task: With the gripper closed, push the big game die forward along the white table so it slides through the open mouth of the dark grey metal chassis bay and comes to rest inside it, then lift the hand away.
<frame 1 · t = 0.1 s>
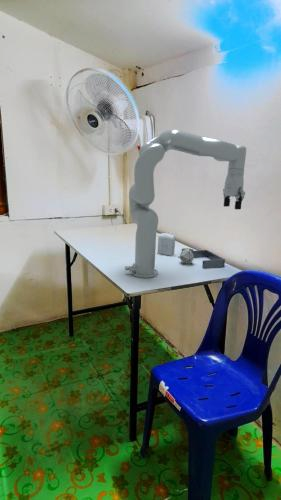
hand: (231, 207, 162), 31 cm above the table, tool pointing down, fingers open, 9 cm apart
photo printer: (165, 254, 190), on the table
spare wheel: (187, 253, 192), on the table
game die: (186, 264, 174), on the table
chassis bay: (204, 262, 177), on the table
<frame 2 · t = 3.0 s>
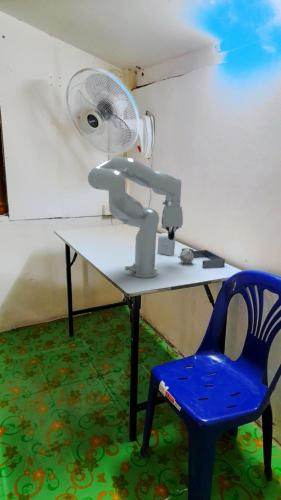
hand: (171, 239, 167), 14 cm above the table, tool pointing down, fingers closed
nothing on the table moved.
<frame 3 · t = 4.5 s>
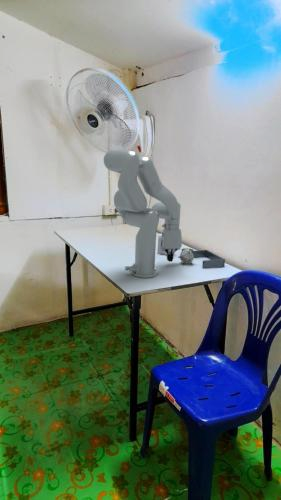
hand: (169, 260, 170), 2 cm above the table, tool pointing down, fingers closed
nothing on the table moved.
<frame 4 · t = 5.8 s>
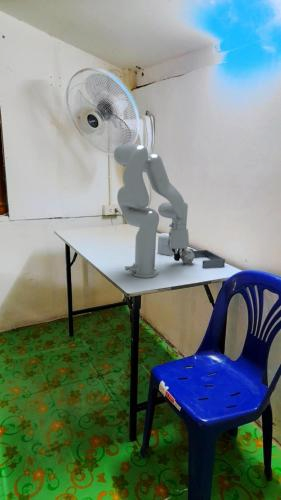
hand: (176, 260, 172), 2 cm above the table, tool pointing down, fingers closed
game die: (186, 263, 174), on the table, touching gripper
everything else where it was.
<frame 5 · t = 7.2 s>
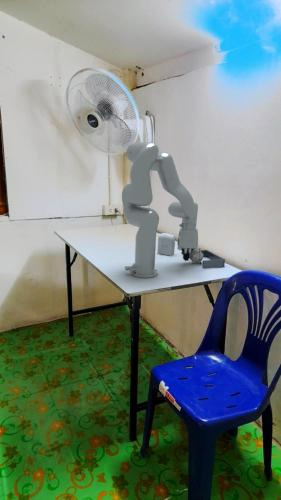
hand: (185, 260, 173), 2 cm above the table, tool pointing down, fingers closed
game die: (195, 263, 175), on the table, touching gripper
everything else where it was.
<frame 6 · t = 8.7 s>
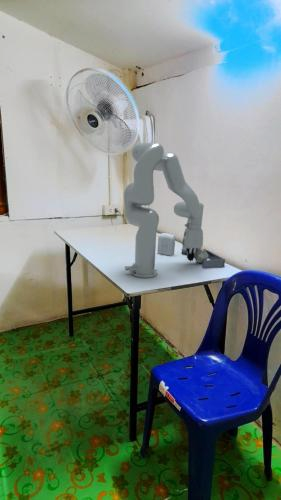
hand: (190, 260, 174), 2 cm above the table, tool pointing down, fingers closed
game die: (200, 263, 175), on the table, touching gripper
everything else where it was.
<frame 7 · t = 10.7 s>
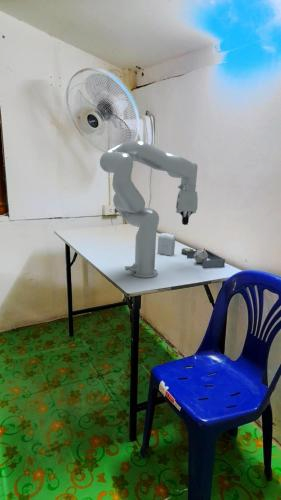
hand: (184, 224, 167), 21 cm above the table, tool pointing down, fingers closed
game die: (200, 263, 175), on the table
everything else where it was.
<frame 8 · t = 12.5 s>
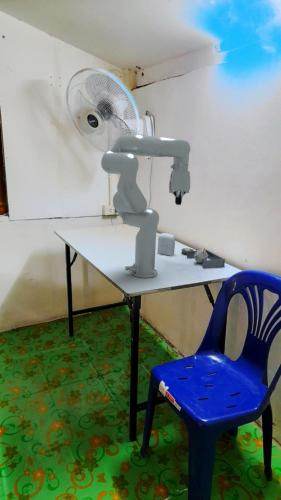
hand: (178, 204, 168), 31 cm above the table, tool pointing down, fingers closed
nothing on the table moved.
at the end: game die inside the target area on the chassis bay (2.7 cm from its centre), point 0.0 cm above the chassis bay's base; game die tilted 0°; game die moved 7.9 cm from its start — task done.
